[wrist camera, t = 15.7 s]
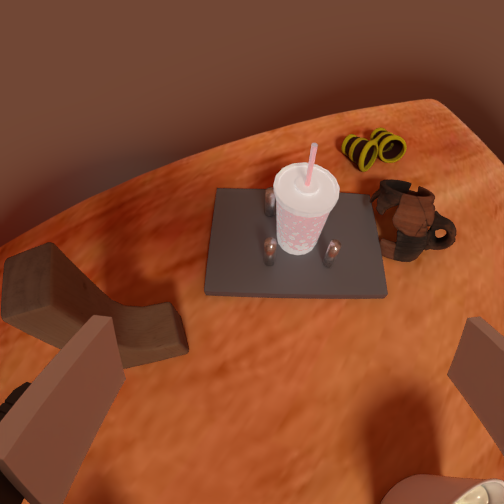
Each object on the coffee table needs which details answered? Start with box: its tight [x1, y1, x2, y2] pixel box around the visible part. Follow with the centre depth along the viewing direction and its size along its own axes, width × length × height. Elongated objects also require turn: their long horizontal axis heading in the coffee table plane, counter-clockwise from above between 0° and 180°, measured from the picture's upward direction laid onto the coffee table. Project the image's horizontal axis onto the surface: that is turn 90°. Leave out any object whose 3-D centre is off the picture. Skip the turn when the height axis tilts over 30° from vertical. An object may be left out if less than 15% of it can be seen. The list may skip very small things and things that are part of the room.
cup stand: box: [204, 187, 388, 299], centre depth 34 cm, size 20×14×5 cm
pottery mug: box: [369, 180, 456, 262], centre depth 35 cm, size 12×10×8 cm
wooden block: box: [1, 242, 189, 369], centre depth 23 cm, size 9×4×18 cm, turn 108°
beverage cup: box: [273, 143, 340, 255], centre depth 29 cm, size 6×6×14 cm
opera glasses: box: [341, 128, 406, 172], centre depth 42 cm, size 10×5×5 cm, turn 114°
